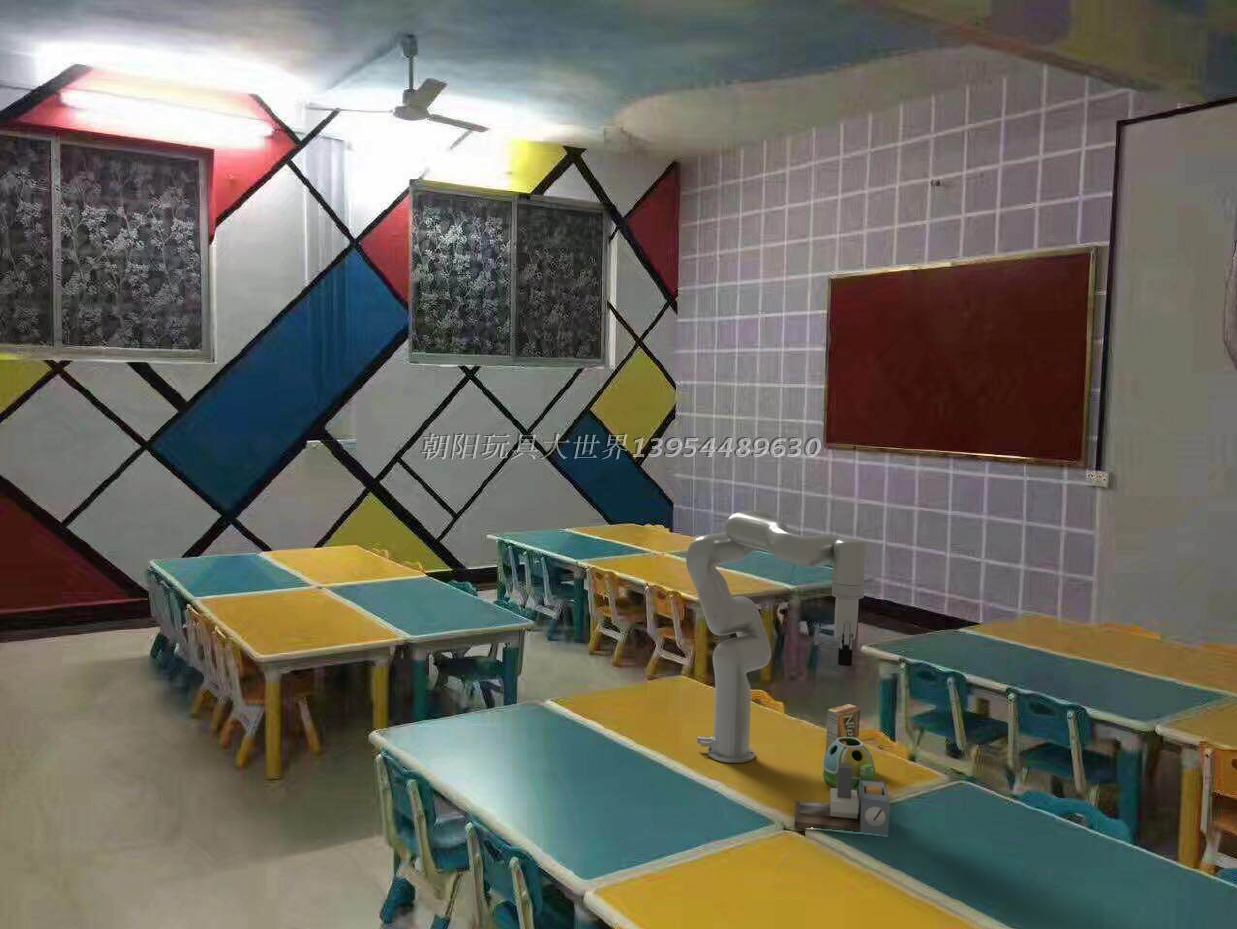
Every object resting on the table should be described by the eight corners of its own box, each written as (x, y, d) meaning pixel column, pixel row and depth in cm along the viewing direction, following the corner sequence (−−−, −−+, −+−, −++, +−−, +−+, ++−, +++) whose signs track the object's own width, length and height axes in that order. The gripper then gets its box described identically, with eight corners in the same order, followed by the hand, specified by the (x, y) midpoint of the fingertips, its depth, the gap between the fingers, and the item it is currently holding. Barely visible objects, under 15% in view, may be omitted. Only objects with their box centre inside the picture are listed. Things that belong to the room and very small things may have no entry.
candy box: (845, 759, 278) (847, 703, 277) (858, 763, 275) (860, 707, 274) (824, 766, 272) (826, 709, 271) (837, 771, 269) (839, 713, 268)
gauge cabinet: (860, 835, 230) (862, 800, 230) (858, 813, 243) (859, 779, 242) (888, 838, 229) (889, 803, 229) (884, 815, 241) (886, 782, 241)
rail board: (794, 827, 233) (794, 812, 233) (795, 806, 245) (795, 792, 245) (860, 834, 231) (861, 819, 231) (858, 813, 243) (858, 798, 242)
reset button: (865, 808, 234) (866, 790, 234) (865, 801, 238) (865, 784, 238) (882, 809, 234) (883, 792, 233) (881, 803, 237) (881, 786, 237)
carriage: (830, 818, 234) (832, 770, 233) (829, 804, 242) (831, 758, 241) (857, 821, 233) (859, 773, 232) (856, 807, 241) (858, 760, 240)
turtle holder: (846, 808, 245) (848, 759, 244) (813, 779, 263) (815, 733, 262) (893, 804, 248) (895, 755, 247) (858, 776, 266) (860, 730, 265)
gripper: (831, 583, 258) (828, 656, 260) (832, 595, 244) (829, 671, 245) (862, 585, 257) (859, 658, 258) (865, 597, 242) (862, 674, 244)
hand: (844, 664), depth 252 cm, fingers closed
